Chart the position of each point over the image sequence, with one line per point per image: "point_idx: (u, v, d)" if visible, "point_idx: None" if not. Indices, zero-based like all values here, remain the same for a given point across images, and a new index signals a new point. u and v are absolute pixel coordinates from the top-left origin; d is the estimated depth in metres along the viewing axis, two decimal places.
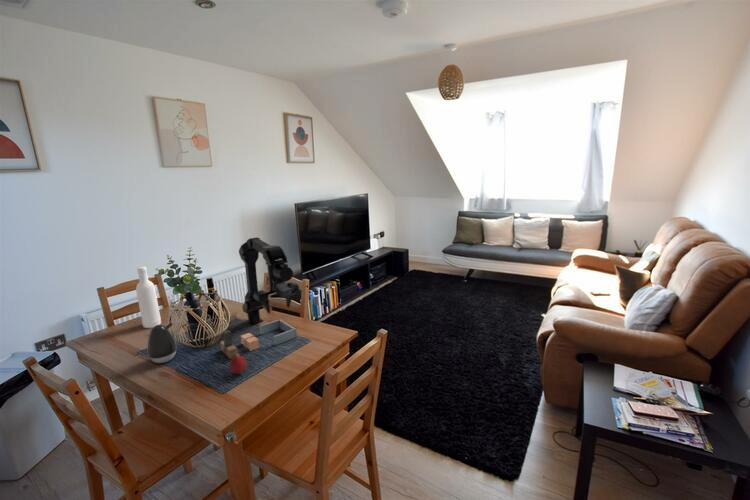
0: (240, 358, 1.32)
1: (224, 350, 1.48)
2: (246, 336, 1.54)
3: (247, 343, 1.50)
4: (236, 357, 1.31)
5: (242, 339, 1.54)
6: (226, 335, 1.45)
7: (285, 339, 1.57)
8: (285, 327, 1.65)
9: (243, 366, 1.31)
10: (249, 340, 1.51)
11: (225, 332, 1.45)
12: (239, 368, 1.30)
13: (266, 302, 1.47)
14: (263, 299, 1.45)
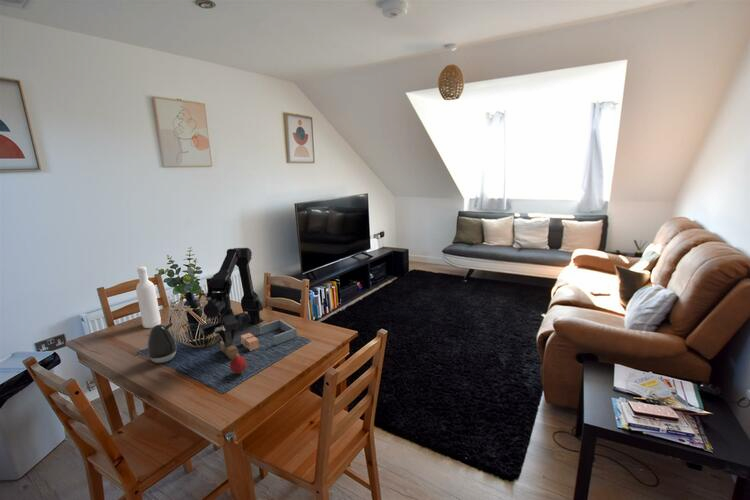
0: (240, 358, 1.32)
1: (224, 350, 1.48)
2: (246, 336, 1.54)
3: (247, 343, 1.50)
4: (236, 357, 1.31)
5: (242, 339, 1.54)
6: (226, 335, 1.45)
7: (285, 339, 1.57)
8: (285, 327, 1.65)
9: (243, 366, 1.31)
10: (249, 340, 1.51)
11: (225, 332, 1.45)
12: (239, 368, 1.30)
13: (220, 333, 1.42)
14: (208, 333, 1.38)
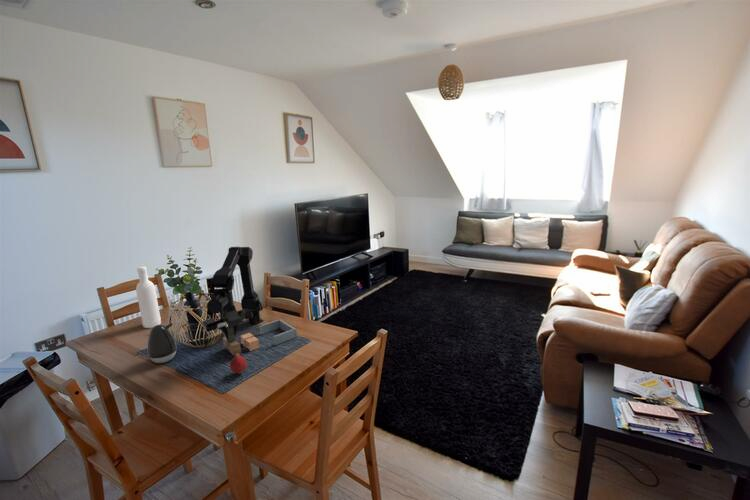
0: (240, 358, 1.32)
1: (227, 346, 1.48)
2: (246, 336, 1.54)
3: (247, 343, 1.50)
4: (236, 357, 1.31)
5: (242, 339, 1.54)
6: (229, 331, 1.45)
7: (285, 339, 1.57)
8: (285, 327, 1.65)
9: (243, 366, 1.31)
10: (249, 340, 1.51)
11: (228, 328, 1.46)
12: (239, 368, 1.30)
13: (223, 329, 1.43)
14: (211, 329, 1.38)
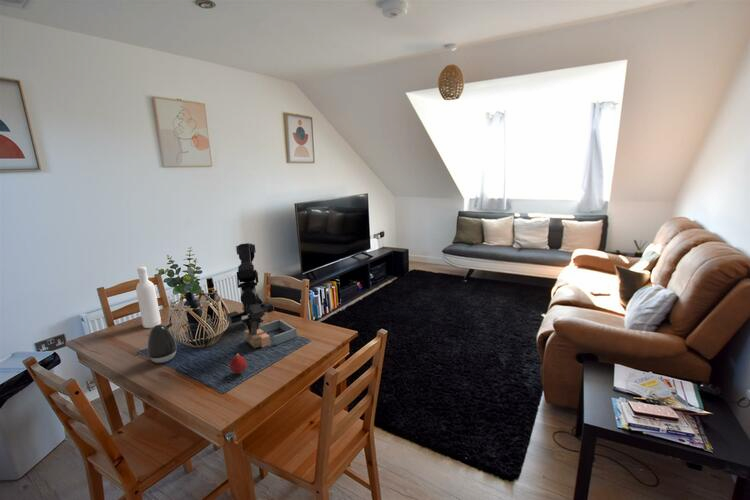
0: (240, 358, 1.32)
1: (248, 338, 1.54)
2: (257, 332, 1.58)
3: None
4: (236, 357, 1.31)
5: None
6: (252, 323, 1.52)
7: (285, 339, 1.57)
8: (285, 327, 1.65)
9: (243, 366, 1.31)
10: None
11: (252, 320, 1.52)
12: (240, 368, 1.30)
13: (246, 321, 1.49)
14: (236, 321, 1.45)
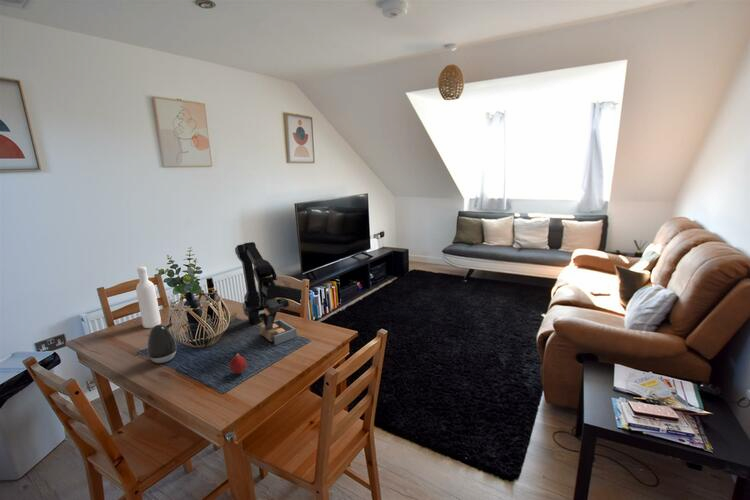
0: (240, 358, 1.32)
1: (264, 333, 1.59)
2: None
3: None
4: (236, 357, 1.31)
5: None
6: (268, 318, 1.56)
7: (285, 339, 1.57)
8: (285, 327, 1.65)
9: (243, 366, 1.31)
10: (277, 331, 1.58)
11: (268, 315, 1.57)
12: (240, 368, 1.30)
13: (263, 316, 1.54)
14: (253, 315, 1.49)
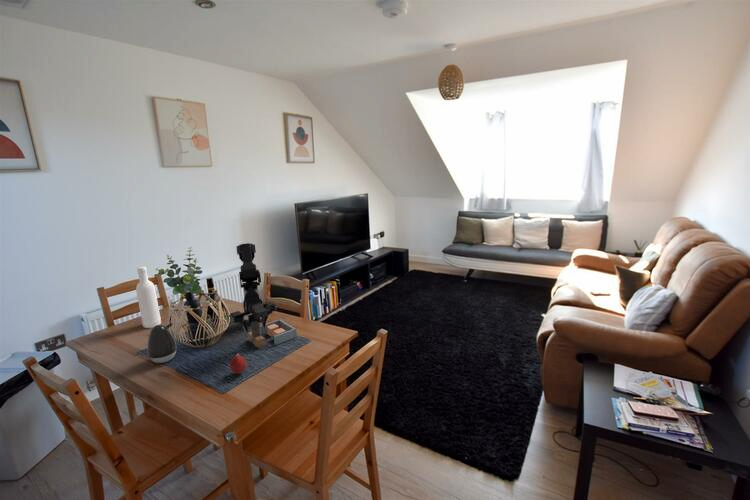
0: (240, 358, 1.32)
1: (252, 340, 1.56)
2: (272, 327, 1.63)
3: (275, 334, 1.58)
4: (236, 357, 1.31)
5: (268, 329, 1.63)
6: (254, 326, 1.53)
7: (285, 339, 1.57)
8: (285, 327, 1.65)
9: (243, 366, 1.31)
10: (277, 331, 1.58)
11: (253, 323, 1.53)
12: (240, 368, 1.30)
13: (243, 322, 1.48)
14: (238, 320, 1.45)
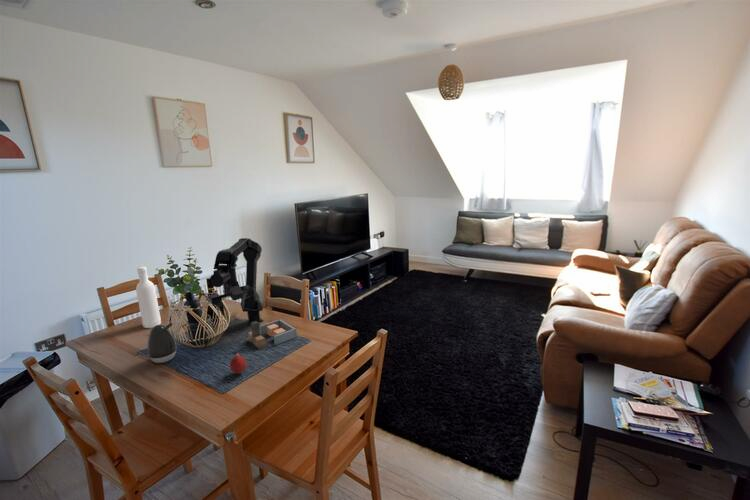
0: (240, 358, 1.32)
1: (252, 340, 1.56)
2: (272, 327, 1.63)
3: (275, 334, 1.58)
4: (236, 357, 1.31)
5: (268, 329, 1.63)
6: (254, 326, 1.52)
7: (285, 339, 1.57)
8: (285, 327, 1.65)
9: (243, 366, 1.31)
10: (277, 331, 1.58)
11: (253, 323, 1.53)
12: (240, 368, 1.30)
13: (220, 305, 1.50)
14: (216, 302, 1.48)
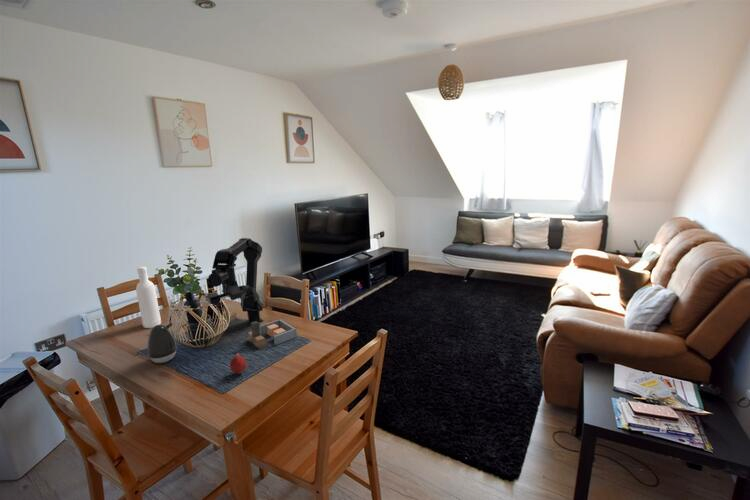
0: (240, 358, 1.32)
1: (252, 340, 1.56)
2: (272, 327, 1.63)
3: (275, 334, 1.58)
4: (236, 357, 1.31)
5: (268, 329, 1.63)
6: (254, 326, 1.52)
7: (285, 339, 1.57)
8: (285, 327, 1.65)
9: (243, 366, 1.31)
10: (277, 331, 1.58)
11: (253, 323, 1.53)
12: (240, 368, 1.30)
13: (218, 305, 1.50)
14: (215, 302, 1.48)
